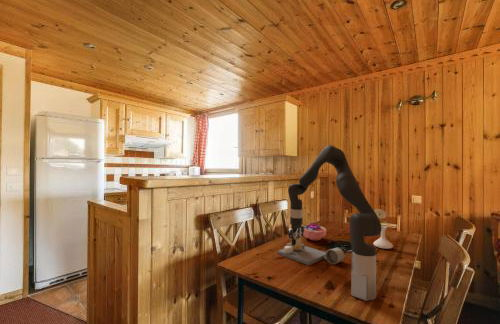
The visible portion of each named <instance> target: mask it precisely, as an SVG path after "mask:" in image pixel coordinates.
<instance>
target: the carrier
mask: <svg viewBox="0 0 500 324" xmlns="http://www.w3.org/2000/svg"><path fill="white" fill-rule="evenodd" d="M290 245H291V242H289V243H286V245H285V246H284V247H283V248H282V249H279V250H277V255H278V256H281V257H285V258H287V259H290V260H293V261H295V262H297V263H301V264H303V265H307V266H311V265H313V264H315V263H317V262H319V261H322V260H325V259H324V256H326V252H327V251H322V250H319V249H316V248H313V247H309V246H307V245H306V244H304V243H301V245H302V250H293V247H292V246H290ZM305 245H306V246H305Z"/></svg>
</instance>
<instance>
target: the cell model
mask: <svg viewBox="0 0 500 324" xmlns="http://www.w3.org/2000/svg"><path fill="white" fill-rule="evenodd" d="M303 226H304V233H303V236H304V237H306V238H307V239H309V240H310V241H320V240H322V239H323V238H324V237H325V236H326V235H327V228H326V227H324V226H321V225H318V224H317V223H316V222H311V223H310V224H305V225H303Z"/></svg>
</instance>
